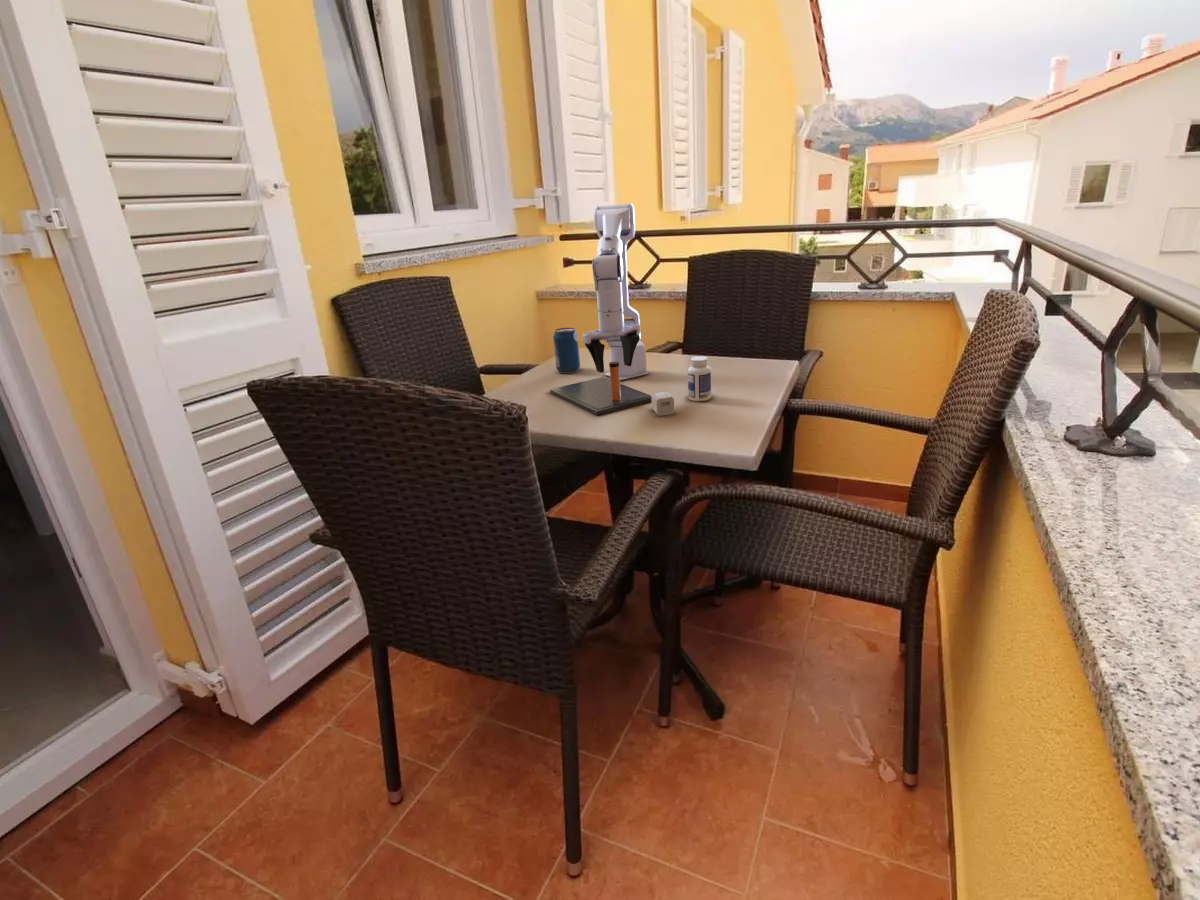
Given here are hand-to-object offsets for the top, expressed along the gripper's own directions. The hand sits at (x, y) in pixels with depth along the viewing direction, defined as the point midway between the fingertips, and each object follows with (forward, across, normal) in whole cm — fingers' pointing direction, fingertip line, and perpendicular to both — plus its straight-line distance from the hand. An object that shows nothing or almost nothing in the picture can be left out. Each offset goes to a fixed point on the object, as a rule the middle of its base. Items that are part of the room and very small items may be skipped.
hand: (614, 368), depth 147 cm
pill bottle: (+9, +17, -10) cm, 22 cm away
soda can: (+9, +6, +36) cm, 37 cm away
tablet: (+9, 0, +8) cm, 12 cm away
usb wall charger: (+9, +5, -11) cm, 15 cm away
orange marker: (+8, 0, 0) cm, 8 cm away
